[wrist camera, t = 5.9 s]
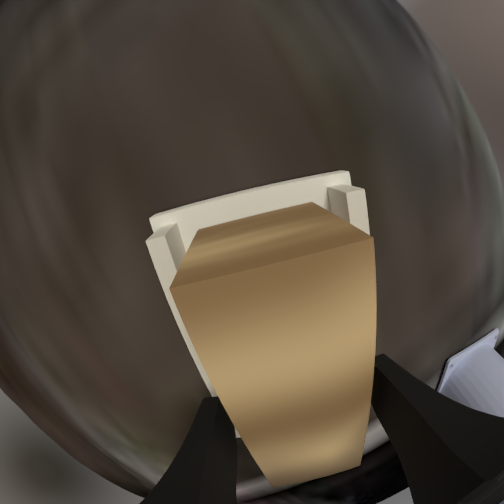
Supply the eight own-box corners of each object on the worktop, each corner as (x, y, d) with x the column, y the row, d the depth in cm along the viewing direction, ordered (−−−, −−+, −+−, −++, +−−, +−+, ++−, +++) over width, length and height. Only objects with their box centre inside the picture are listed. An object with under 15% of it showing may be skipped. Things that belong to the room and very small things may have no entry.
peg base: (356, 376, 17) (372, 407, 14) (230, 406, 17) (231, 442, 14) (341, 170, 12) (371, 174, 9) (155, 214, 12) (132, 230, 9)
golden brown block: (335, 400, 14) (359, 465, 9) (264, 418, 14) (272, 487, 9) (311, 201, 10) (373, 238, 5) (197, 229, 10) (169, 288, 6)
